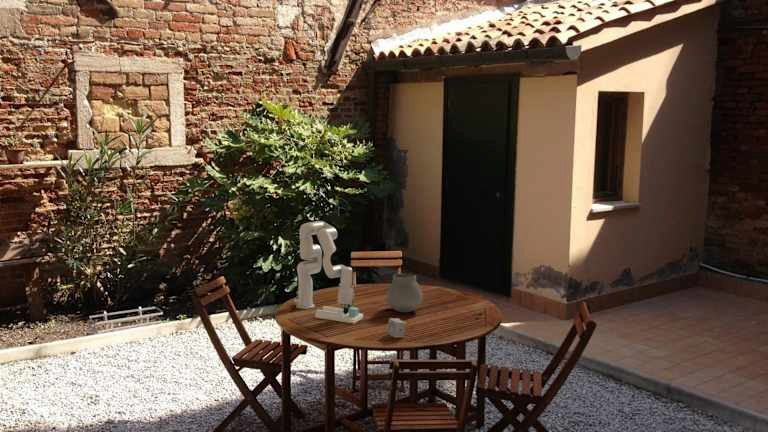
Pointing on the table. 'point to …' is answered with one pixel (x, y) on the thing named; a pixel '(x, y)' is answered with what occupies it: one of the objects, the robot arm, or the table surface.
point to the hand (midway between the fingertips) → (345, 313)
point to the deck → (336, 315)
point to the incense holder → (396, 328)
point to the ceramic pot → (404, 293)
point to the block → (353, 312)
